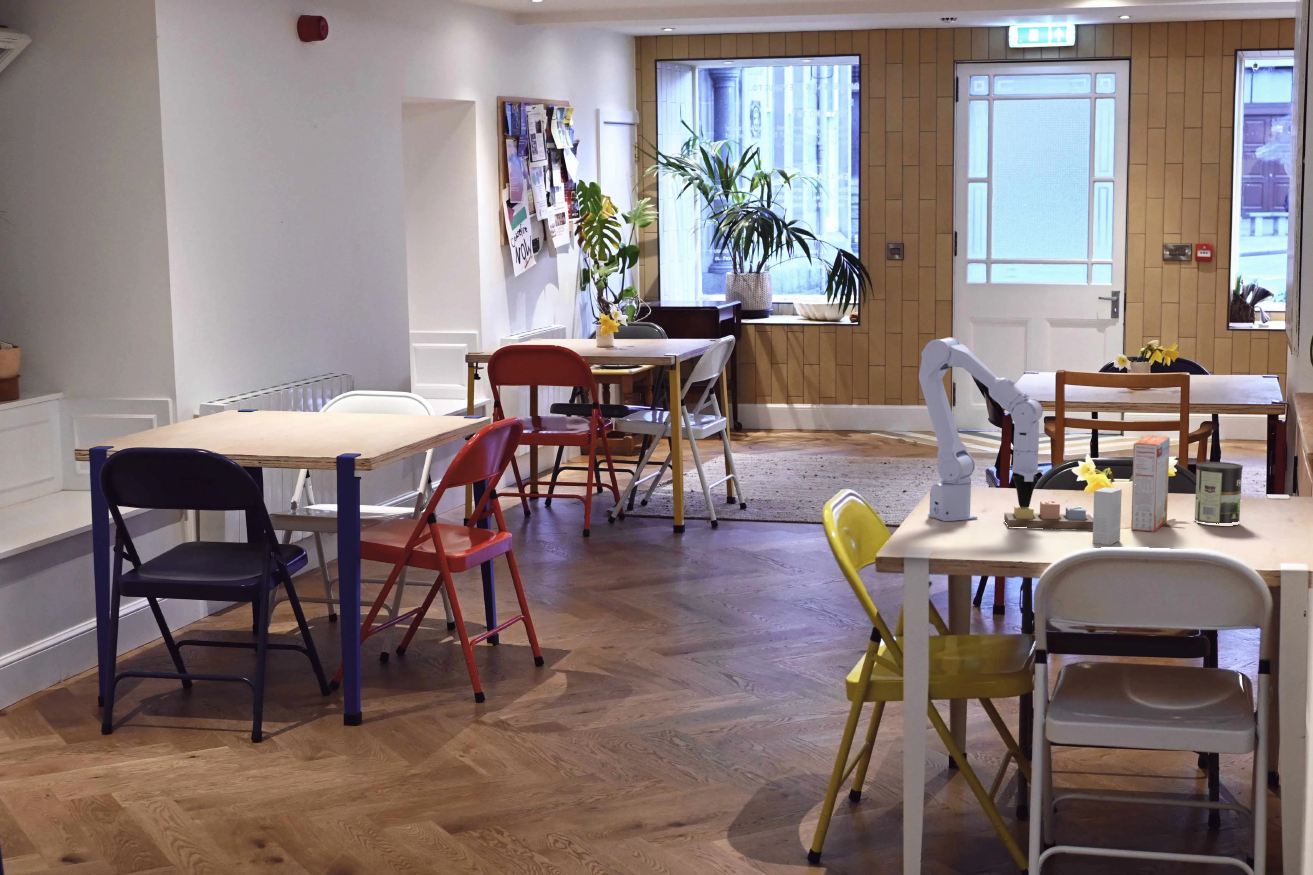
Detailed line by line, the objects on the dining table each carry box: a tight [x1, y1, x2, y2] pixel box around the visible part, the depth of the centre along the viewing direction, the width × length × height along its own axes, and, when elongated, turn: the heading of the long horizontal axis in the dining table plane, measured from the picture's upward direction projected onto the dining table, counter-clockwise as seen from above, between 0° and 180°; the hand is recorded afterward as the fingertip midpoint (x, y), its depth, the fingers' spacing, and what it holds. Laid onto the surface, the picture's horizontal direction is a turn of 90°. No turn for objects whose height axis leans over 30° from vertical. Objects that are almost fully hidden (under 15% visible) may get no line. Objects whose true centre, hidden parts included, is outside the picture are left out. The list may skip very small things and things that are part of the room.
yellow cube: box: [1013, 505, 1035, 519], centre depth 332 cm, size 4×4×4 cm
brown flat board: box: [1003, 512, 1093, 531], centre depth 332 cm, size 20×9×2 cm, turn 82°
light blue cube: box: [1065, 505, 1087, 520], centre depth 331 cm, size 4×4×4 cm
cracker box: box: [1130, 435, 1171, 533], centre depth 329 cm, size 14×6×21 cm, turn 149°
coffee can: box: [1194, 461, 1244, 524], centre depth 334 cm, size 10×10×14 cm
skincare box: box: [1092, 486, 1122, 546], centre depth 313 cm, size 6×4×12 cm
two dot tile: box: [1039, 500, 1061, 519], centre depth 331 cm, size 4×4×4 cm
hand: (1024, 506), depth 332 cm, fingers closed, pressing on yellow cube
